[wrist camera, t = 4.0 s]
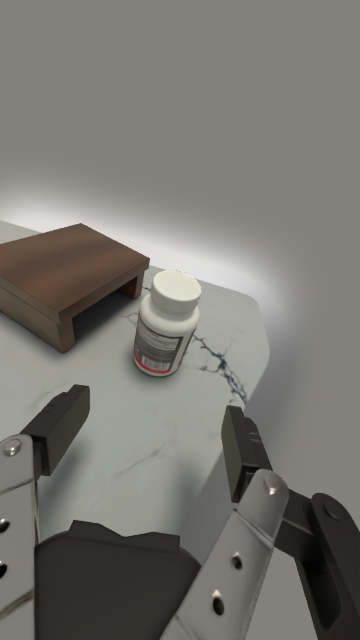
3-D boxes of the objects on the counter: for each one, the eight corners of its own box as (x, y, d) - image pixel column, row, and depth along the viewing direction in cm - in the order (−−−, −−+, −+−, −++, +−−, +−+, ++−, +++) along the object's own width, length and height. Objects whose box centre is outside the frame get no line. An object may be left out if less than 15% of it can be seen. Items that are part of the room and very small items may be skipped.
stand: (143, 296, 30) (150, 258, 26) (67, 356, 21) (58, 312, 16) (83, 262, 32) (80, 222, 28) (-11, 304, 23) (-36, 253, 19)
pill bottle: (160, 330, 26) (179, 260, 19) (190, 361, 24) (223, 293, 17) (122, 350, 23) (129, 273, 16) (154, 388, 20) (177, 317, 14)
